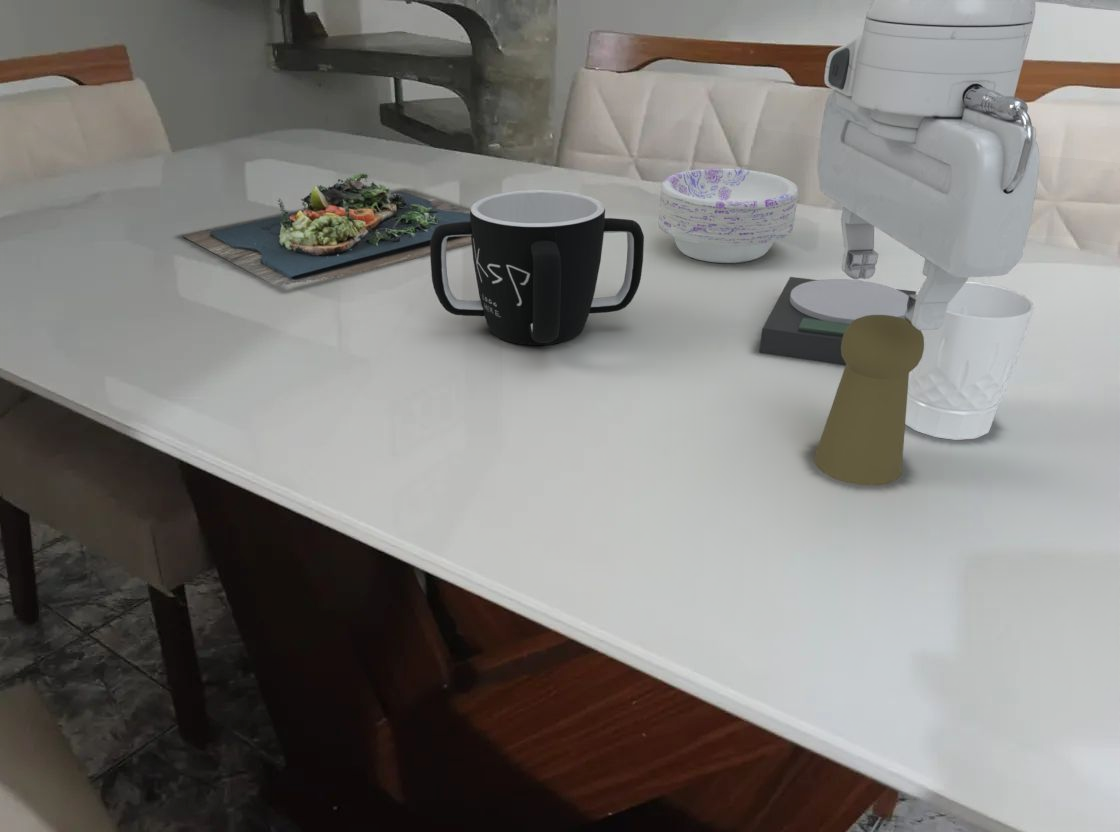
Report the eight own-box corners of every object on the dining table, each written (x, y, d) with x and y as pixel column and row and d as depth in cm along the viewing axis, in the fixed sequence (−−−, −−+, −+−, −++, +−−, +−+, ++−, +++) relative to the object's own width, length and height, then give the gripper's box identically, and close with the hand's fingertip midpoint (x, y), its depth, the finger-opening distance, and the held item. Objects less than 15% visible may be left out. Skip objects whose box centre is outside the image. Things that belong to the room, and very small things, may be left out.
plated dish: (289, 293, 104) (281, 225, 100) (178, 240, 123) (167, 181, 119) (531, 231, 123) (531, 172, 119) (402, 194, 142) (399, 142, 138)
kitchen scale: (786, 299, 99) (790, 270, 98) (922, 315, 94) (929, 286, 93) (758, 353, 87) (763, 321, 86) (912, 375, 83) (920, 342, 81)
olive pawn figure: (815, 480, 68) (842, 335, 62) (811, 440, 73) (836, 302, 67) (907, 490, 67) (943, 341, 61) (896, 448, 72) (928, 308, 66)
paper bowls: (733, 282, 104) (742, 208, 100) (629, 250, 114) (633, 182, 110) (816, 252, 112) (827, 183, 108) (711, 225, 122) (718, 161, 118)
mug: (419, 328, 94) (412, 205, 88) (539, 290, 103) (540, 175, 97) (532, 380, 83) (533, 243, 77) (655, 332, 92) (665, 206, 86)
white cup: (871, 421, 76) (897, 299, 70) (916, 390, 80) (943, 273, 75) (974, 455, 71) (1009, 327, 66) (1015, 419, 75) (1051, 297, 70)
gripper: (1100, 102, 48) (1023, 360, 55) (906, 50, 65) (867, 250, 72) (978, 106, 47) (917, 365, 54) (816, 53, 65) (785, 254, 72)
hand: (887, 299), depth 64 cm, fingers open, 8 cm apart
